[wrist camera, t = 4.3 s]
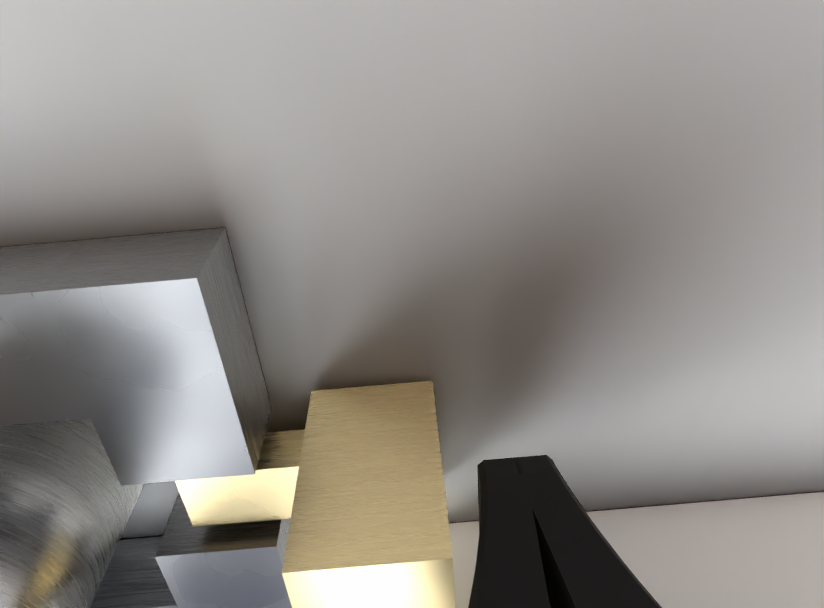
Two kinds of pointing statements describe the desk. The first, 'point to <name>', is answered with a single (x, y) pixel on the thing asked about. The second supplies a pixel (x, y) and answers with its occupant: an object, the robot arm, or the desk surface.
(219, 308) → the socket block
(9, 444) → the metal cylinder
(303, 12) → the desk surface
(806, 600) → the white square block
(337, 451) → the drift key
